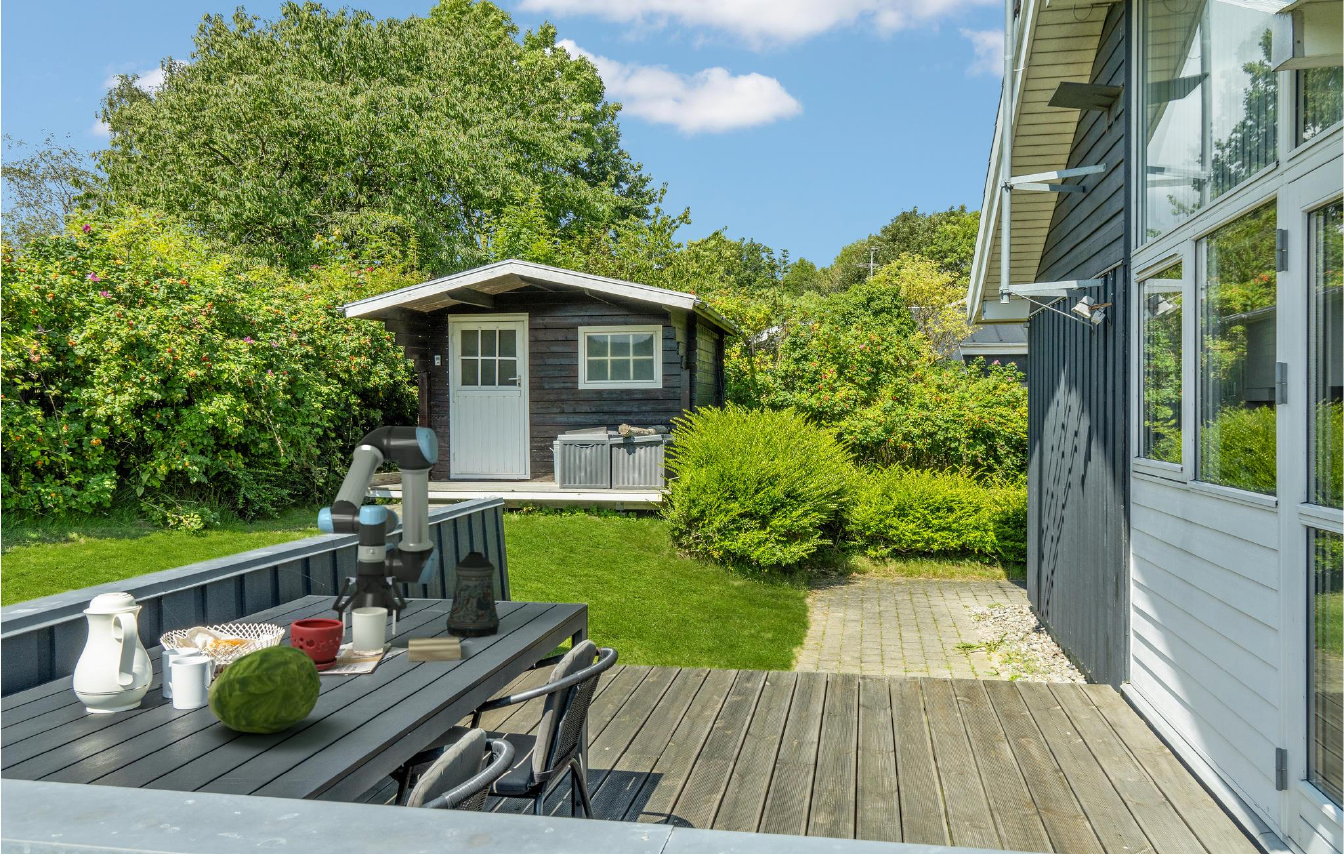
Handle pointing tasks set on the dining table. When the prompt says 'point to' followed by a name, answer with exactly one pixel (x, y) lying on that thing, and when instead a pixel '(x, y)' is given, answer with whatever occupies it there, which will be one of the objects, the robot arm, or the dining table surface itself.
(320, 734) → the dining table surface
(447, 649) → the plinth
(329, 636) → the plant pot
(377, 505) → the robot arm
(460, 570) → the beer stein
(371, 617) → the candle holder
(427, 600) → the dining table surface
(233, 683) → the lettuce
